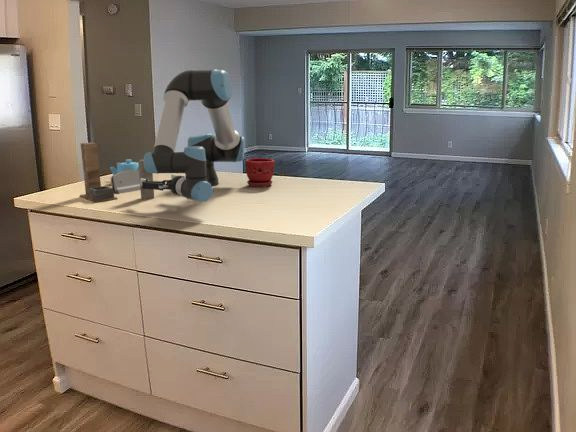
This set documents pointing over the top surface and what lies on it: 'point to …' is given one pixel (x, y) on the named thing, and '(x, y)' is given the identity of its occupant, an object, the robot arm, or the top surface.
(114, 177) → the hinge
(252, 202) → the top surface
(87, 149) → the dark brown bookend
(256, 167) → the plant pot
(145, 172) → the grey rectangular block
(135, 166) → the teapot
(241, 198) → the top surface
